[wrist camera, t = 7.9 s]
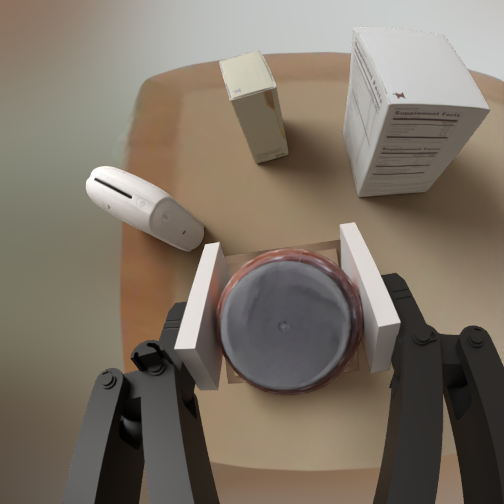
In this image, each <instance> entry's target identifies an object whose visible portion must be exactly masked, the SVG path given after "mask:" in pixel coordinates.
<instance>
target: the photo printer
mask: <svg viewBox="0 0 504 504" xmlns="http://www.w3.org/2000/svg"><path fill="white" fill-rule="evenodd" d="M86 191H87V193H88V195H89V197H90V198H91V199H92V201H93V202H94V203H96V204H97V205H98V206H100V207H101V208H102V209H104V210H105V211H107V212H109V213H110V214H112V215H113V216H115V217H117V218H119V219H120V220H122V221H124V222H126V223H127V224H129V225H131V226H133V227H135V228H137V229H138V230H142V231H144V232H146V233H148V234H150V235H152V236H154V237H156V238H158V239H160V240H162V241H164V242H166V243H168V244H170V245H171V246H174V247H176V248H178V249H181V250H184V251H187V252H191V250H192V249H195V248H196V247H198V246H199V245H200V243H201V242H202V240H203V237H204V229H203V228H204V224H203V223H202V222H201V221H200V220H199V219H197V218H196V217H195V216H194V215H193V214H192V213H190V212H189V211H188V210H187V209H186V208H184V207H183V206H182V205H181V204H180V203H178V202H177V201H176V200H175V199H174V198H173V197H171V196H170V195H169V194H168V193H166V192H165V191H163V190H162V189H160V188H158V187H157V186H155V185H153V184H151V183H149V182H147V181H145V180H143V179H141V178H139V177H137V176H135V175H133V174H130V173H128V172H125V171H123V170H120V169H117V168H114V167H108V166H103V167H98V168H97V169H95V170H93V171H92V173H91V176H90V178H89V179H88V180H87V182H86Z"/></svg>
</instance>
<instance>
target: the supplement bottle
mask: <svg viewBox="0 0 504 504" xmlns="http://www.w3.org/2000/svg"><path fill="white" fill-rule="evenodd" d="M362 330H363V310H362V304H361V302H360V298H359V295H358V292H357V290H356V288H355V286H354V284H353V283H352V281H351V279H350V278H349V276H348V275H347V274H346V273H345V272H344V271H343V270H342V269H341V268H340V267H339V266H338V265H337V264H335V263H334V262H333V261H331V260H330V259H328V258H326V257H324V256H322V255H320V254H318V253H315V252H313V251H309V250H304V249H295V248H286V249H278V250H273V251H269V252H266V253H263V254H261V255H259V256H257V257H255V258H253V259H252V260H250V261H248V262H247V263H245V264H244V265H243V266H242V267H241V268H240V269H239V270H237V271H236V273H235V274H234V275H233V276H232V277H231V279H230V280H229V282H228V283H227V285H226V287H225V288H224V290H223V292H222V295H221V297H220V300H219V303H218V307H217V312H216V332H217V337H218V342H219V345H220V348H221V350H222V353H223V355H224V357H225V359H226V360H227V362H228V364H229V365H230V366H231V368H232V369H233V370H234V371H235V372H236V373H237V374H238V375H239V376H240V377H241V378H242V379H244V380H245V381H246V382H248V383H249V384H250V385H252V386H254V387H256V388H258V389H260V390H263V391H265V392H269V393H273V394H282V395H297V394H302V393H308V392H311V391H315V390H317V389H319V388H321V387H324V386H325V385H327V384H328V383H330V382H332V381H333V380H334V379H335V378H336V377H337V376H338V375H340V374H341V373H342V372H343V371H344V370H345V369H346V367H347V366H348V364H349V363H350V362H351V360H352V359H353V357H354V355H355V353H356V351H357V349H358V346H359V343H360V340H361V336H362Z"/></svg>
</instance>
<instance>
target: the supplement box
mask: <svg viewBox="0 0 504 504" xmlns="http://www.w3.org/2000/svg"><path fill="white" fill-rule="evenodd" d="M489 111H490V108H489V106H488V104H487V103H486V101H485V99H484V97H483V95H482V93H481V92H480V90H479V88H478V86H477V85H476V83H475V81H474V79H473V78H472V76H471V74H470V73H469V71H468V70H467V68H466V66H465V65H464V63H463V62H462V60H461V59H460V57H459V56H458V54H457V53H456V51H455V50H454V49H453V47H452V46H451V44H450V43H449V42H448V40H447V39H446V37H445V36H444V35H442V34H437V33H432V32H423V31H414V30H404V29H392V28H373V27H372V28H371V27H355V28H353V38H352V52H351V65H350V81H349V89H348V95H347V104H346V112H345V120H344V127H343V135H344V139H345V143H346V147H347V151H348V155H349V159H350V163H351V168H352V172H353V177H354V181H355V186H356V191H357V195H358V197H367V196H379V195H390V194H404V193H418V192H427V191H428V190H429V188H430V187H431V186H432V185H433V184H434V182H435V181H436V180H437V179H438V178H439V176H440V175H441V174H442V173H443V171H444V170H445V169H446V168H447V167H448V165H449V164H450V163H451V162H452V160H453V159H454V158H455V157H456V155H457V154H458V153H459V152H460V150H461V149H462V148H463V146H464V145H465V144H466V143H467V141H468V140H469V139H470V137H471V136H472V135H473V133H474V132H475V131H476V129H477V128H478V127H479V125H480V124H481V123H482V121H483V120H484V118H485V117H486V116H487V114H488V113H489Z"/></svg>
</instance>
